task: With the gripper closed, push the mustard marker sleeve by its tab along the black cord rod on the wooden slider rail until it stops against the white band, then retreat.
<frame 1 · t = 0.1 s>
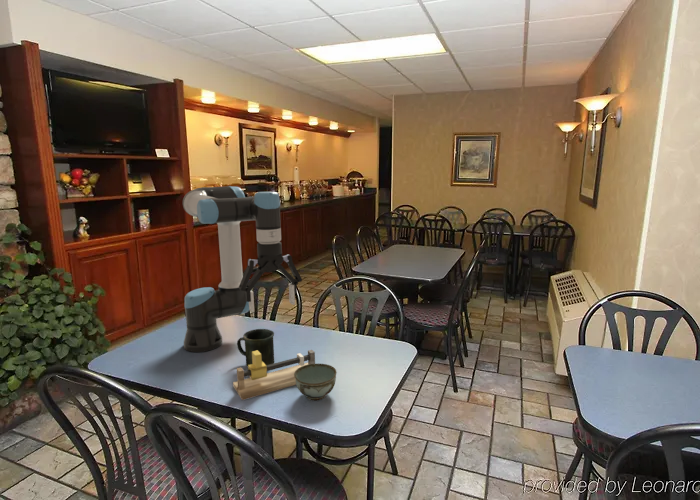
hand: (272, 307, 135), 28 cm above the table, fingers open, 13 cm apart
mug: (256, 364, 157), on the table
sleeve: (257, 364, 139), point 8 cm above the table, slide at -7.0 cm
wooden slider rail: (278, 381, 144), on the table
cord rod: (277, 365, 143), point 5 cm above the table
band: (300, 359, 147), point 6 cm above the table
bowl: (316, 396, 135), on the table
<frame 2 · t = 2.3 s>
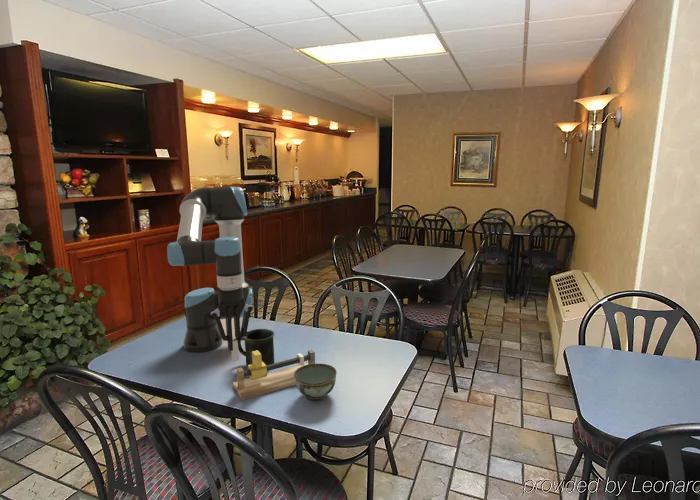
hand: (235, 358, 134), 12 cm above the table, fingers closed
nothing on the table moved.
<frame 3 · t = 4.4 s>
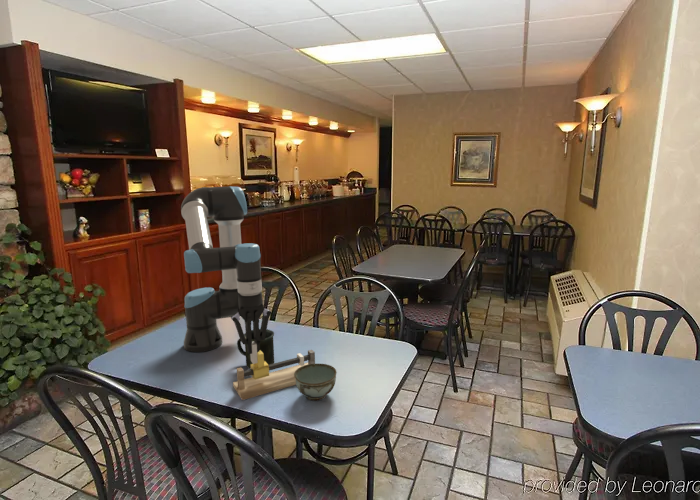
hand: (254, 361, 138), 9 cm above the table, fingers closed
sleeve: (259, 363, 139), point 8 cm above the table, slide at -6.2 cm, touching gripper
everything else where it was.
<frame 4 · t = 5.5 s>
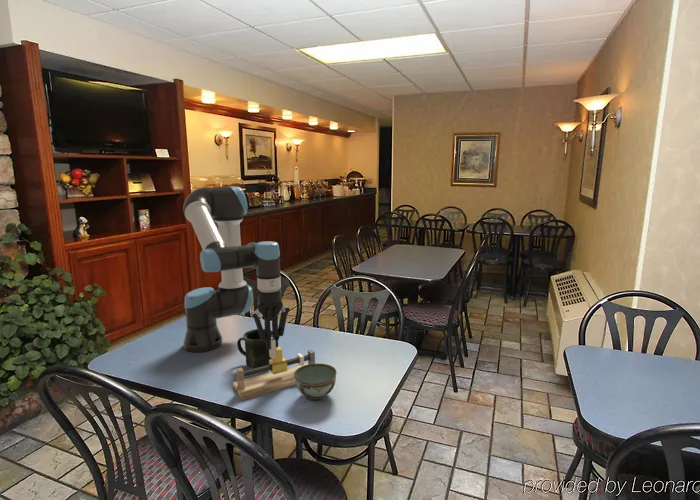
hand: (272, 357, 141), 9 cm above the table, fingers closed
sleeve: (277, 359, 142), point 8 cm above the table, slide at 0.2 cm, touching gripper
everything else where it was.
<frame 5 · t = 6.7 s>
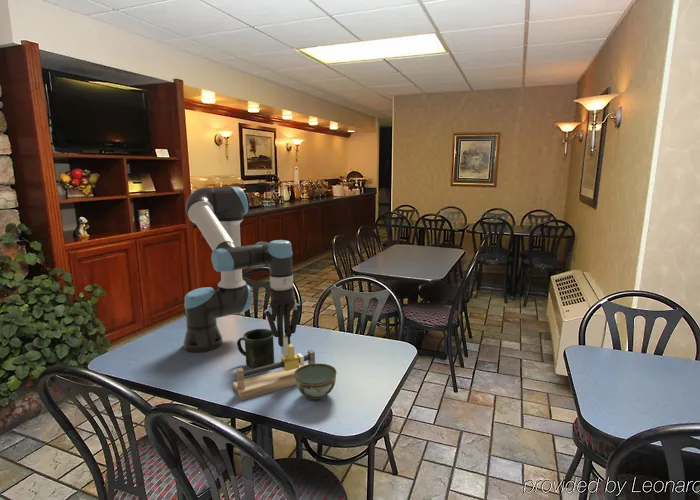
hand: (284, 354, 143), 9 cm above the table, fingers closed
sleeve: (289, 356, 144), point 8 cm above the table, slide at 4.5 cm, touching gripper
everything else where it was.
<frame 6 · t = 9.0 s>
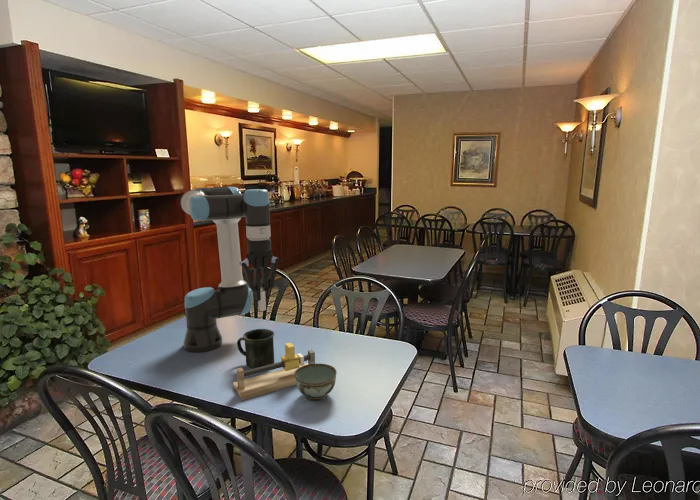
hand: (262, 309, 138), 26 cm above the table, fingers closed
sleeve: (290, 356, 144), point 8 cm above the table, slide at 4.7 cm
everything else where it was.
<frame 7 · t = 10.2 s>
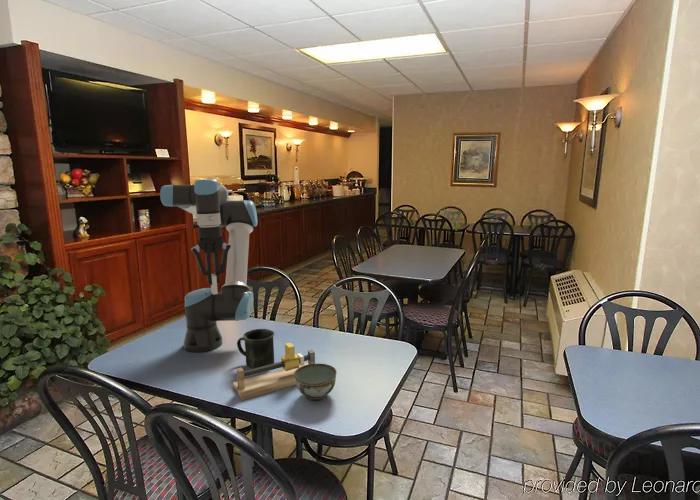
hand: (214, 293, 146), 29 cm above the table, fingers closed
nothing on the table moved.
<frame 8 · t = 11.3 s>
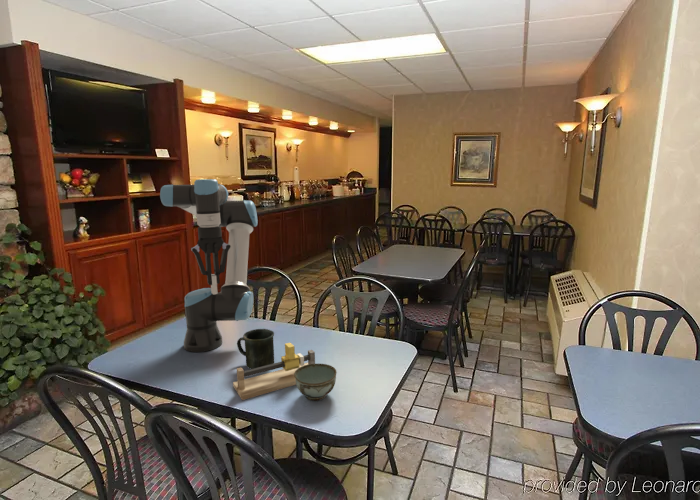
hand: (214, 293, 146), 29 cm above the table, fingers closed
nothing on the table moved.
at the end: sleeve slide at 4.7 cm; the gripper is holding nothing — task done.
